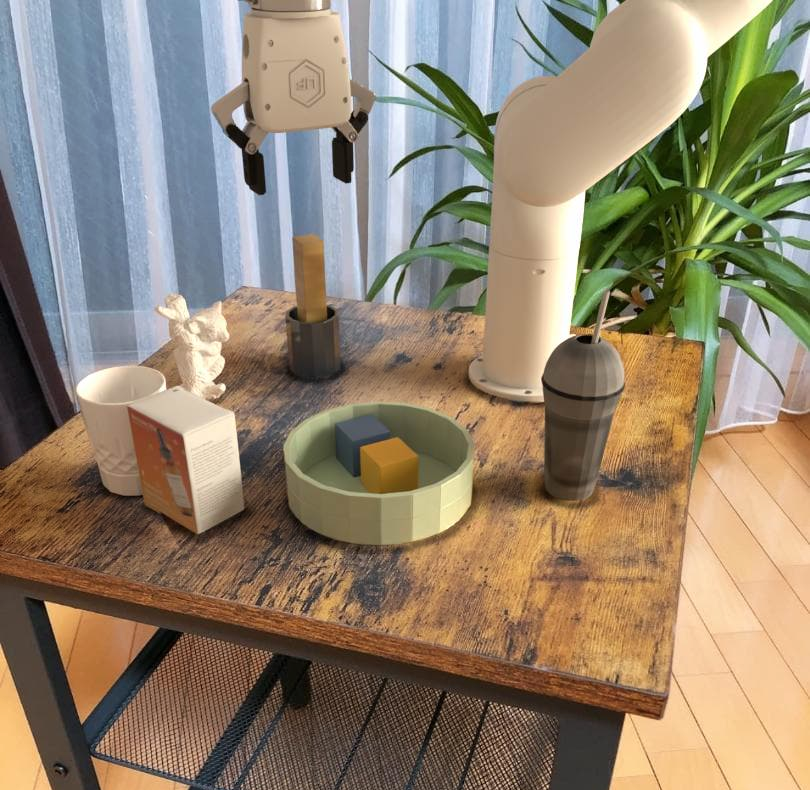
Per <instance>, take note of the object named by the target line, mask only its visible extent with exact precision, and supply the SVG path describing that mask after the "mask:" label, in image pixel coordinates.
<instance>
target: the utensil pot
mask: <svg viewBox="0 0 810 790" xmlns="http://www.w3.org/2000/svg"><path fill="white" fill-rule="evenodd" d="M326 305H327V320H325V321H322V322H313V323H310V322H300V321H298V313H297V305H294V306H292V307H290V308H289V309H288V310H286V311H285V329H286V342H287V351H288V352H287V354H288V368H289V370H290V371H291V372H292V373H293V374H294V375H297V376H299V377H303V378H318V377H326V376H329V375H332V374H336V373H337V372H339V371H340V369H341V365H342V362H341V338H340V337H341V335H340V315H339V314H340V313H339V310H338V309H337V308H336V307H335V306H332V305H328V304H326Z"/></svg>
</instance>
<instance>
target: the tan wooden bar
mask: <svg viewBox="0 0 810 790" xmlns="http://www.w3.org/2000/svg"><path fill="white" fill-rule="evenodd" d="M291 239H292V251H293V252H292V255H293V267H294V268H293V269H294V270H293V271H294V282H295V297H296V306H297V313H298V321H300V322H310V323H313V322H322V321H325V320H327V305H328V304H327V288H326V268H325V267H326V266H325V247H324V246H325V245H324V239H322V238H321V237H320V236H318V235H316V234H315V233H310V234H303V235H298V236H292V238H291Z"/></svg>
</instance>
